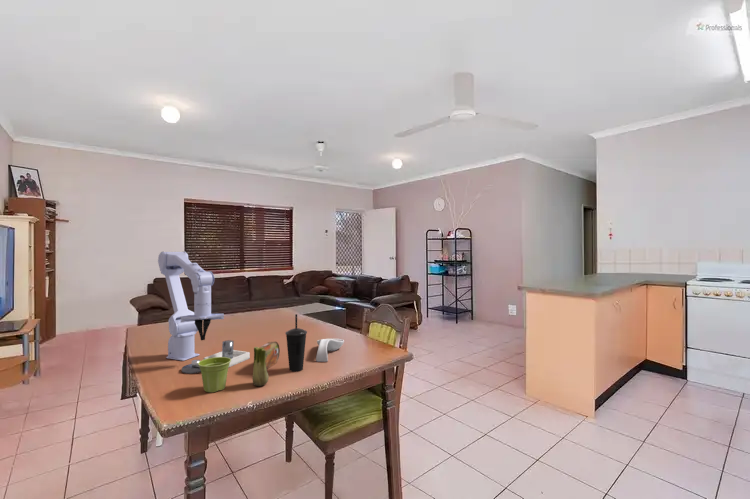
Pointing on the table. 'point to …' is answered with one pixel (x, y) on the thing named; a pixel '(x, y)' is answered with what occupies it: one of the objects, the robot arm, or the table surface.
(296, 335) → the drinking cup
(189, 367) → the crank base
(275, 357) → the tin
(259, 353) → the fennel bulb
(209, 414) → the table surface
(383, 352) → the table surface
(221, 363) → the plant pot
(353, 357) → the table surface
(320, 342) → the spoon rest
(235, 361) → the tray
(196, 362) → the crank
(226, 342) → the cylinder
